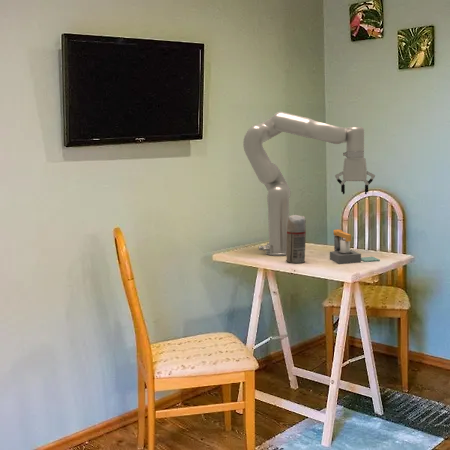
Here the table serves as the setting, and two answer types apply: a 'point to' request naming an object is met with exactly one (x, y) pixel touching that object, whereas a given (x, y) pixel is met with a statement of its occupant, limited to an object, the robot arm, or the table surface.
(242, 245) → the table surface
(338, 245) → the post
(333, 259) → the socket block
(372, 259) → the mat
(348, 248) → the plug
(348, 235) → the orange rectangular bar
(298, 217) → the spray can
